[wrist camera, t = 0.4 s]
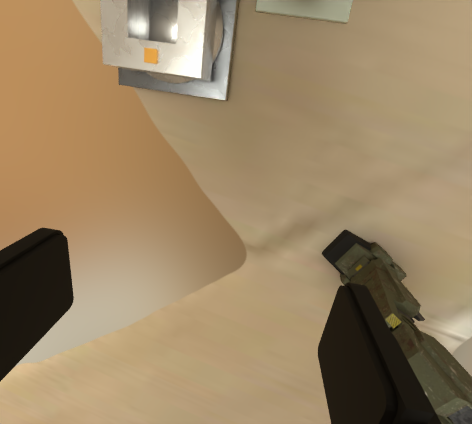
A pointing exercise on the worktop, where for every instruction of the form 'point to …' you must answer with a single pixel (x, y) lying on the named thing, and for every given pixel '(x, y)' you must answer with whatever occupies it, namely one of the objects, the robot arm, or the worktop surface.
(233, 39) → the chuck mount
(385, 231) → the worktop surface
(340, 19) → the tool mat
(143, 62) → the grey boxy piece
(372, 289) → the mechanical leg
